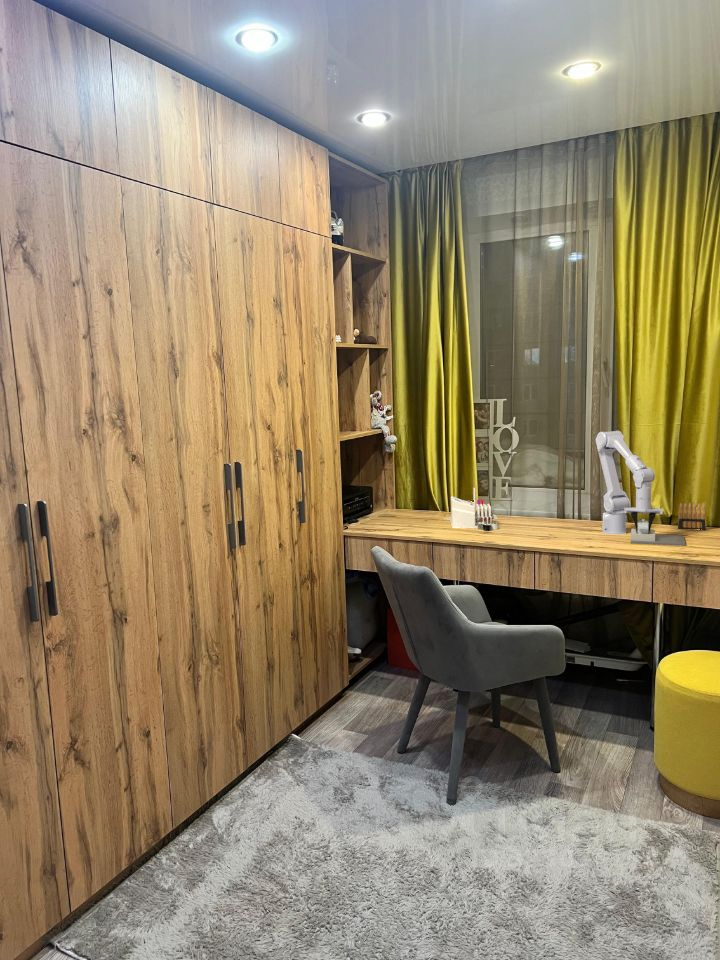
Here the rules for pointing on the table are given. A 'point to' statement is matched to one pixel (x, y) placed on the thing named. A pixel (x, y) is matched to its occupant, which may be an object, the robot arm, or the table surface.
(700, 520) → the ammunition clip
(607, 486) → the robot arm
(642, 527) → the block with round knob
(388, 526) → the table surface
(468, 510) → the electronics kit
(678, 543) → the servo chassis
